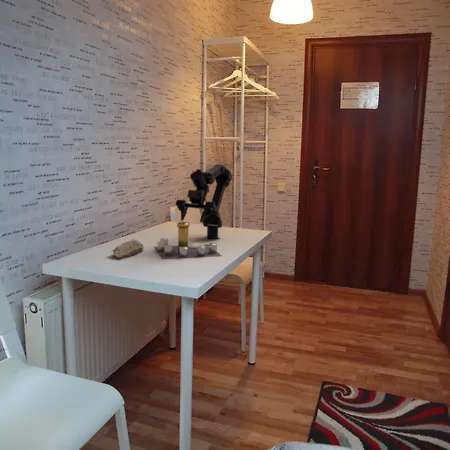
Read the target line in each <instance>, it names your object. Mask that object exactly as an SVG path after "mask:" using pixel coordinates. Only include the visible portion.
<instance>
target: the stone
mask: <svg viewBox="0 0 450 450" xmlns="http://www.w3.org/2000/svg"><path fill="white" fill-rule="evenodd" d="M143 251H144V244H143V243H141V242H140V241H139V240H137V239H135V238H132V239H131V240H128V241H125V242H123V243H121V244H119V245H117V246H116V247H115V248H114V249H113V250H112V251H110V253H111V252H112V255H114V257H115V258H117V259H118V260H123V259H126V258H127V257H128V258H129V257H132V256H135V255H137V254H139V253H141V252H143ZM122 258H123V259H122Z"/></svg>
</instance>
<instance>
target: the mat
mask: <svg viewBox="0 0 450 450" xmlns="http://www.w3.org/2000/svg"><path fill="white" fill-rule="evenodd" d="M203 245H204V246H206V254H205V256H203V257H202V258H213V257H217V258H218V257H223V255H222V254H221V253H220V252H218V251H217V253H215V254H211V253H209V243H208V244H203ZM153 248H154V250H155V251H156V253H157V255H158V256H159V257H160V259H161V260H172V259H173V260H174V259H177V260H178V259H182V258H181V257H179V253H178V245H173V255H172V256H165V255H164V252H158V246H154V247H153ZM195 258H198V259H199V258H201V257H200V256H197V249H190V248H188V257H186V258H185V259H195Z"/></svg>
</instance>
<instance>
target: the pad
mask: <svg viewBox="0 0 450 450" xmlns="http://www.w3.org/2000/svg"><path fill="white" fill-rule="evenodd" d="M204 245H205V244H202V243H195V242H194V243H193V242H192V243H188V248H190V249H197V246H204Z"/></svg>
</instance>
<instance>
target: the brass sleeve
mask: <svg viewBox="0 0 450 450" xmlns="http://www.w3.org/2000/svg"><path fill="white" fill-rule="evenodd" d="M176 227H177V228H178V229H177V233H178V237H177V246H178V253H179V247H188V244H189V228H190V222H189V221H188V222H187V221H185V222H184V221H179V222H176Z"/></svg>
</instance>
